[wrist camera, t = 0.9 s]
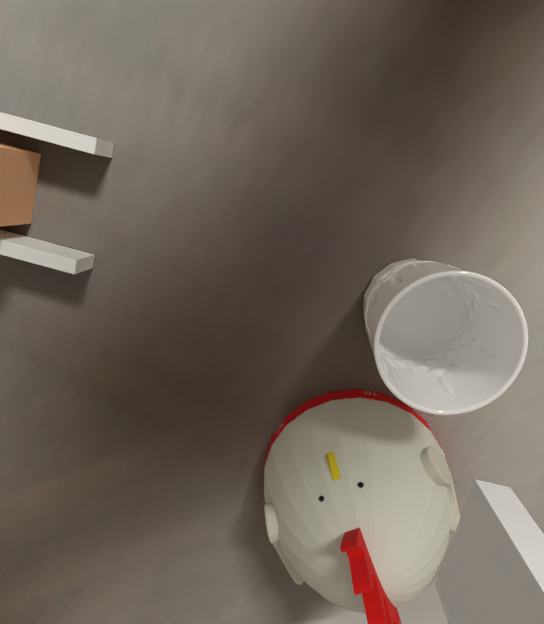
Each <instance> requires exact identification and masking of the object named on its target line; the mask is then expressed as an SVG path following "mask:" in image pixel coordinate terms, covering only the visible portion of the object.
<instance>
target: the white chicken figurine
mask: <svg viewBox="0 0 544 624" xmlns="http://www.w3.org/2000/svg"><path fill="white" fill-rule="evenodd" d="M264 497H265V503H266V504H265V505H264V512H265V519H266V527H267V533H268V537H269V541H270V543H272V544H273V545H274V547H275V549H276V551H277V552H278V554H279V556H280V558H281V560H282V561H283V563H284V565H285V567H286V569H287V571H288V572H289V574H290V576H291V577H292V579H293V580H294V582H295V583H296V584H298V585H301V584H302V583H303V582H304V581H305V582H306V583H307V584H308V585H309V586H310V587H312V588H313V589H314V590H315V591H316V592H318V593H319V594H320V595H321V596H323V597H324V598H325V599H327V600H328V601H330V602H332V603H334V604H337V605H339V606H341V607H343V608H345V609H348V610H351V611H357V612H362V613H366V616H367V621H368V624H401V621H400V618H399V614H398V611H397V608H399V607H401V606H402V605H404V604H406V603H407V602H409V601H410V600H412V599H413V598H415V597H416V596H417V595H418V594H419V593H420V592H421V591H422V590H423V589H424V588H425V586H426V585H427V584H428V583H429V582H430V581H431V580H432V578H433V577H434V575H435V573H436V571H437V569H438V567H439V565H440V562H441V560H442V558H443V556H444V554H445V551H446V549H447V546H448V541H449V534H450V532H454V533H455V532H456V529H457V526H458V523H459V521H460V514H459V508H458V503H457V499H456V494H455V490H454V484H453V480H452V476H451V472H450V469H449V467H448V464H447V462H446V458H445V455H444V452H443V450H442V449H441V447H440V445H439V443H438V441H437V440H436V438H435V436H434V435H433V433H432V431H431V430H430V428H429V426H428V425H427V423H426V421H425V420H424V419H422V418H421V417H420V416H419V415H418V414H417V413H416V412H415V411H413V410H412V409H411V408H410V407H409V406H408V405H407V404H405V403H402V402H400V401H398V400H396V399H394V398H392V397H390V396H388V395H385V394H383V393H377V392H371V391H365V390H360V389H354V390H344V391H333V392H329V393H327V394H324V395H321V396H319V397H316V398H313V399H311V400H308V401H306V402H305V403H304V404H302V405H301V406H300V407H298V408H297V409H296V410H294V411H293V412H292V413H290V414H289V415H288V416H287V417H286V418H285V420H284V421H283V422H282V424H281V425H280V426H279V428H278V429H277V430H276V432H275V433H274V435H273V437H272V440H271V443H270V446H269V449H268V452H267V455H266V459H265V466H264Z"/></svg>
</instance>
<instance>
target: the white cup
mask: <svg viewBox="0 0 544 624" xmlns="http://www.w3.org/2000/svg"><path fill="white" fill-rule="evenodd" d="M364 319H365V325H366V330H367V335H368V339H369V342H370V346H371V349H372V352H373V355H374V359H375V362H376V365H377V369H378V371H379V374H380V376H381V378H382V380H383V381H384V383H385V385H386V386H387V387H388V389H389V390H390V391H391V392H392V393H393V394H394V395H395V396H396V397H397V398H398V399H400V400H401V401H402V402H404V403H405V404H407V405H409V406H410V407H412V408H415V409H417V410H419V411H422V412H426V413H430V414H436V415H456V414H462V413H467V412H471V411H474V410H476V409H479V408H481V407H483V406H485V405H487V404H489V403H491V402H492V401H494V400H495V399H496V398H498V397H499V396H500V395H501V394H503V393H504V392H505V391H506V390H507V389H508V388H509V386H510V385H511V384H512V383H513V381H514V380H515V379H516V377H517V375H518V374H519V372H520V370H521V368H522V366H523V363H524V360H525V357H526V353H527V348H528V329H527V324H526V320H525V317H524V314H523V312H522V310H521V308H520V306H519V304H518V303H517V301H516V300H515V298H514V297H513V296H512V295H511V294H510V293H509V292H508V291H507V290H506V289H505V288H504V287H503V286H501V285H500V284H499V283H497V282H495V281H494V280H492V279H490V278H488V277H485V276H483V275H480V274H477V273H473V272H470V271H467V270H464V269H461V268H458V267H455V266H451V265H447V264H443V263H438V262H434V261H424V260H419V259H415V258H411V259H406V260H402V261H398V262H394V263H391V264H389V265H388V266H387V267H385V268H384V269H383V270H381V271H380V272H379V273H378V274H376V275H375V276H374V277H373V279H372V281H371V283H370V285H369V287H368V289H367V290H366V292H365V294H364Z"/></svg>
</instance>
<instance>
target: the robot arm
mask: <svg viewBox="0 0 544 624" xmlns="http://www.w3.org/2000/svg"><path fill="white" fill-rule="evenodd" d="M436 588H437V591H438V594H439V597H440V600H441V603H442V606H443V609H444V611H445V614H446V617H447V620H448V623H449V624H544V534H543V533H542V531H541V530H540V529H539V527H538V526H537V524H536V523H535V522H534V520H533V519H532V517H531V516H530V515H529V513H528V512H527V510H526V509H525V508H524V506H523V505H522V503H521V502H520V501H519V499H518V498H517V496H516V495H515V494H514V492H513V491H512V489H511V488H510V487H505V486H501V485H497V484H493V483H488V482H484V481H480V480H476V479H475V480H474V483H473V485H472V488H471V491H470V494H469V496H468V499H467V502H466V504H465V507H464V510H463V513H462V515H461V518H460V521H459V523H458V526H457V529H456V532H455V534H454V537H453V540H452V542H451V545H450V548H449V551H448V553H447V556H446V559H445V561H444V564H443V567H442V570H441V572H440V575H439V578H438V580H437V583H436Z"/></svg>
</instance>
